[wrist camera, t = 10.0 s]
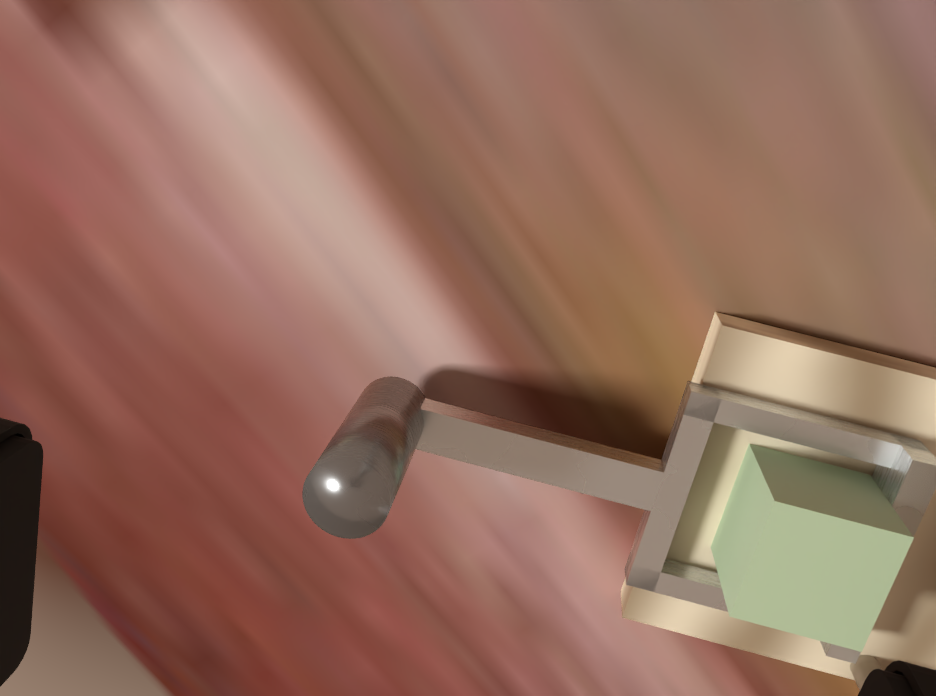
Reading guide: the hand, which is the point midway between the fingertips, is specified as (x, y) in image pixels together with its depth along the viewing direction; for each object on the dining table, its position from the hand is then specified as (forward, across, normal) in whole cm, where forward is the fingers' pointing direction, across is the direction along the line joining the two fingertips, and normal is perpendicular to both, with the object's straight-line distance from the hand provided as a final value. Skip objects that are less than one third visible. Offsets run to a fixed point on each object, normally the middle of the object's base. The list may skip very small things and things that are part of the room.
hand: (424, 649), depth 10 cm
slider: (+26, -6, +9) cm, 28 cm away
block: (+26, -13, +9) cm, 30 cm away
